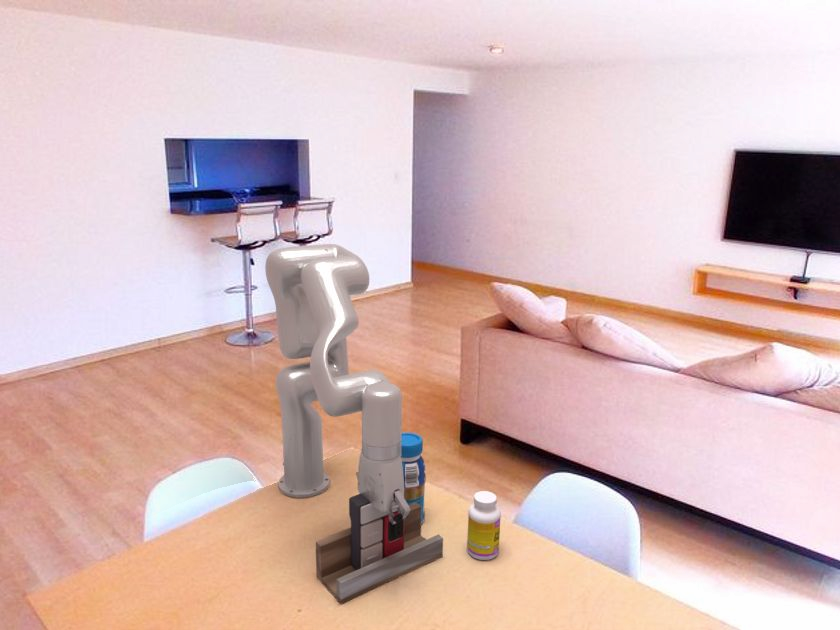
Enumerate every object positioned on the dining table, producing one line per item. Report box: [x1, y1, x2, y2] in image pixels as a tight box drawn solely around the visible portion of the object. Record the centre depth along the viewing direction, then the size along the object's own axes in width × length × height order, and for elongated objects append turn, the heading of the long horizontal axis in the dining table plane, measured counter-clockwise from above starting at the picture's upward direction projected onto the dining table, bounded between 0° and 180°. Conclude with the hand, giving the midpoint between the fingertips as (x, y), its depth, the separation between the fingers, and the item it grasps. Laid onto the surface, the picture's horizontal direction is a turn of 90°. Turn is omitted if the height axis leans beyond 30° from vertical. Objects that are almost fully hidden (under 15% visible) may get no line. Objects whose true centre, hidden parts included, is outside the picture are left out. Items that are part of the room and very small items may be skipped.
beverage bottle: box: [401, 432, 427, 524], centre depth 141 cm, size 8×8×20 cm
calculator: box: [348, 489, 405, 570], centre depth 126 cm, size 11×4×15 cm, turn 127°
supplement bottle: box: [466, 490, 502, 561], centre depth 131 cm, size 7×7×13 cm
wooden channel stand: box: [315, 502, 444, 605], centre depth 126 cm, size 10×24×8 cm, turn 127°
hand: (381, 526), depth 125 cm, fingers open, 9 cm apart
